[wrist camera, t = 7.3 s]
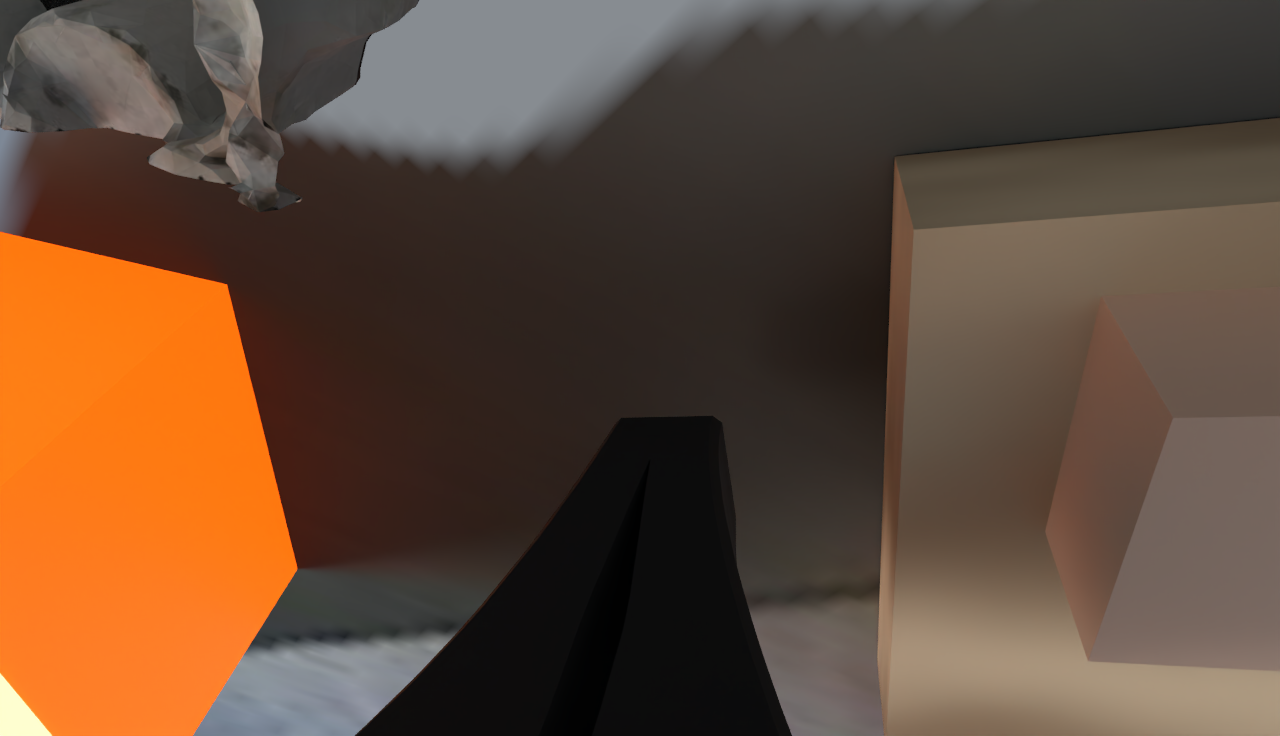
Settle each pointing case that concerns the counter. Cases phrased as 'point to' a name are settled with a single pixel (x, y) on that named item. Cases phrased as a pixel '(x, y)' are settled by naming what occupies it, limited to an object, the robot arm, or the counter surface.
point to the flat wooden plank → (1039, 416)
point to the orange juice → (126, 496)
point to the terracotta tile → (1175, 482)
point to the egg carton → (187, 75)
